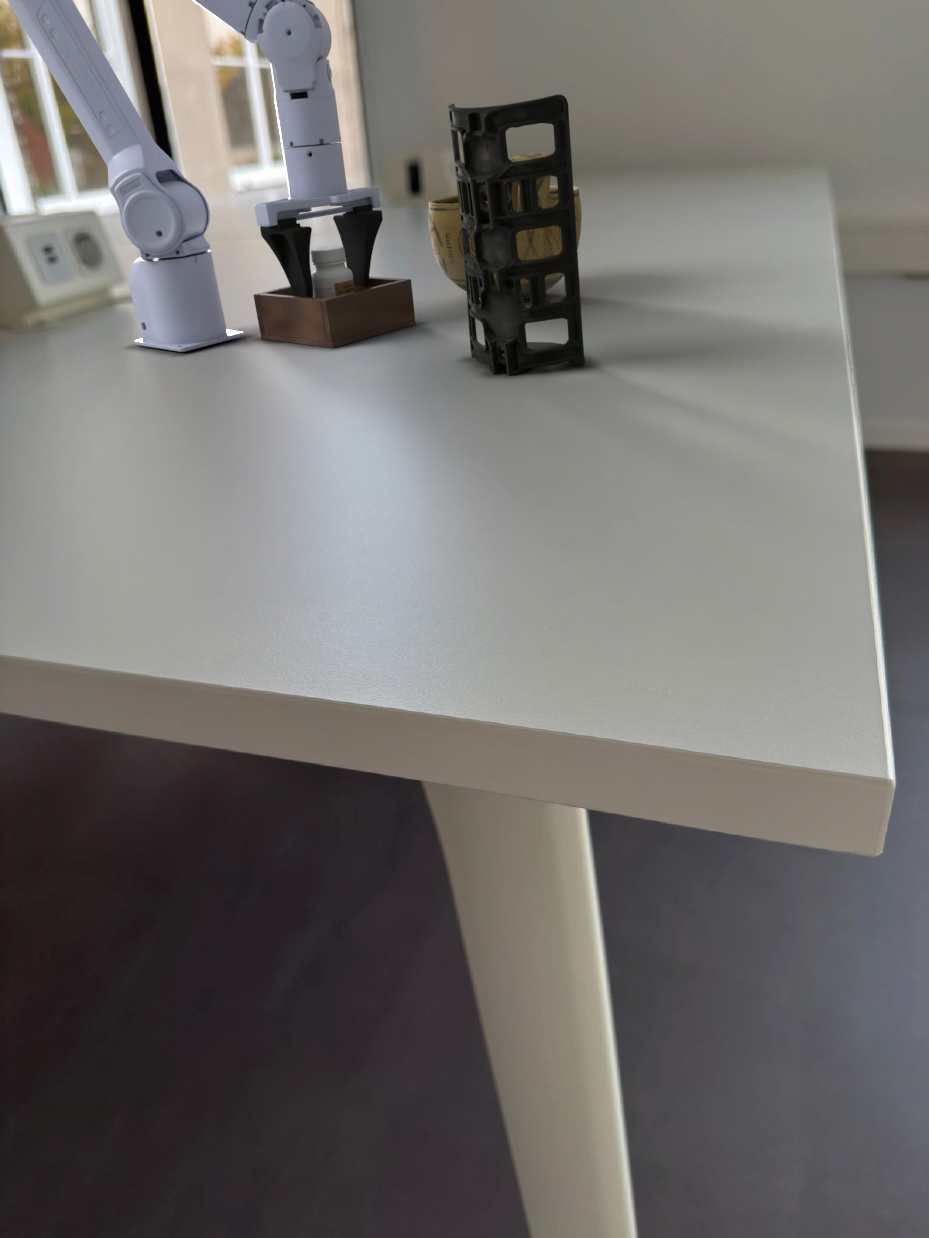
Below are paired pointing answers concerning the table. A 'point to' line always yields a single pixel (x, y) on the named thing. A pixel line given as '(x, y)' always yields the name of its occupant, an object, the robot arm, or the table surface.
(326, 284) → the pill bottle
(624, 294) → the table surface
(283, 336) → the box
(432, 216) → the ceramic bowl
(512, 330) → the holder
